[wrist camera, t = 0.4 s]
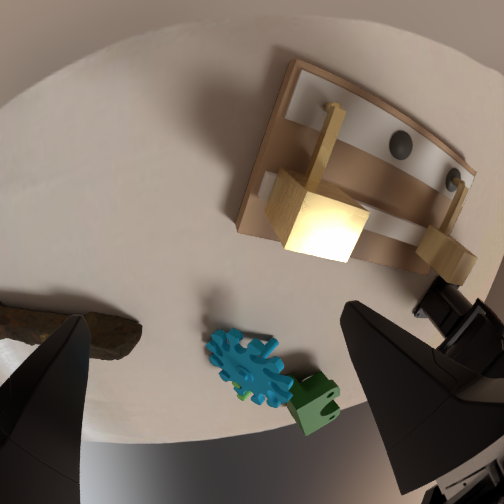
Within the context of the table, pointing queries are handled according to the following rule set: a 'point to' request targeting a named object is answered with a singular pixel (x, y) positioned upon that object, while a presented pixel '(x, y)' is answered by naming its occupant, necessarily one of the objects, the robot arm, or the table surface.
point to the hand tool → (45, 323)
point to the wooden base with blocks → (367, 174)
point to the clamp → (313, 402)
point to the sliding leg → (316, 202)
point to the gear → (250, 367)
